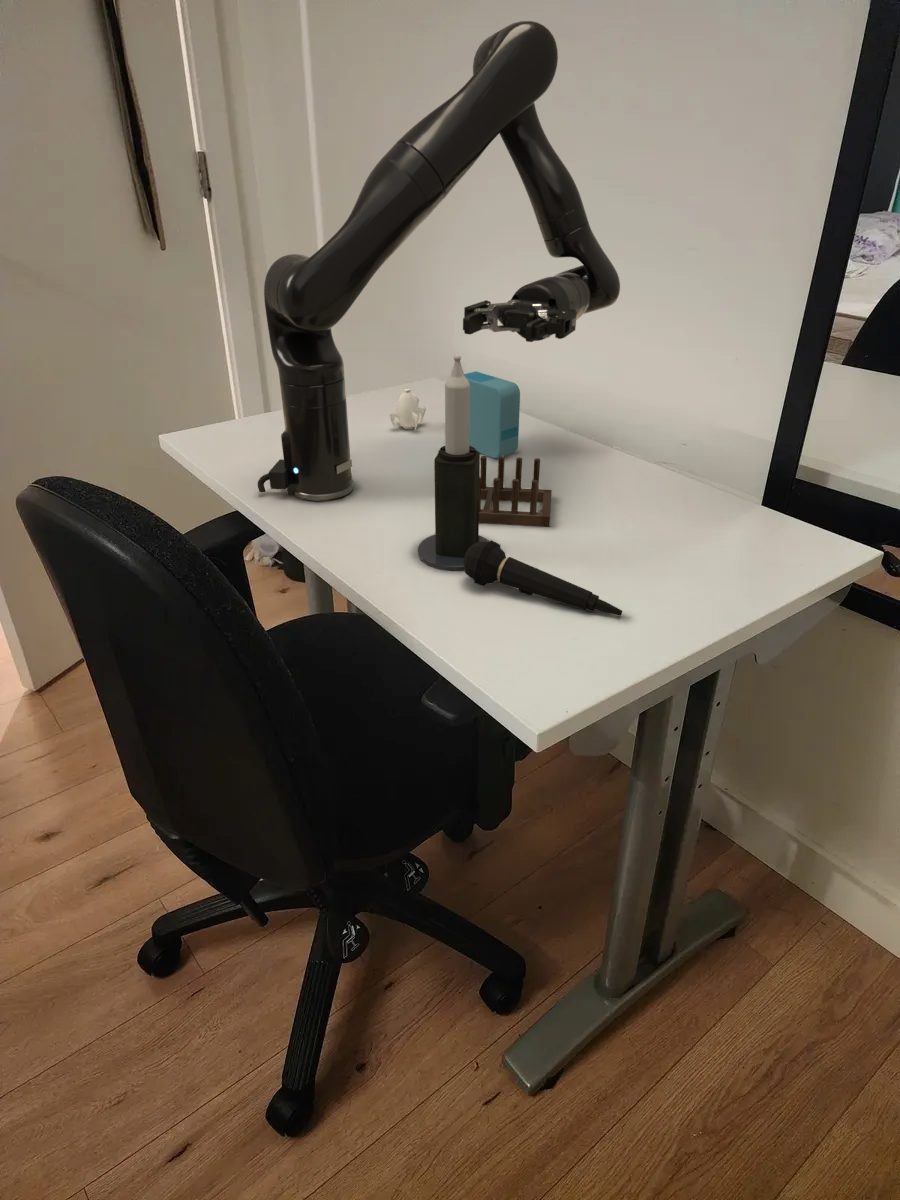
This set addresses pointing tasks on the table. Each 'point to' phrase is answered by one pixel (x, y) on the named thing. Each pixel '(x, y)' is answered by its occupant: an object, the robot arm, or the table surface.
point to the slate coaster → (438, 561)
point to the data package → (493, 415)
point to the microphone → (527, 578)
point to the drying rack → (513, 497)
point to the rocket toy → (407, 410)
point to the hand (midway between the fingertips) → (497, 329)
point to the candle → (456, 473)
